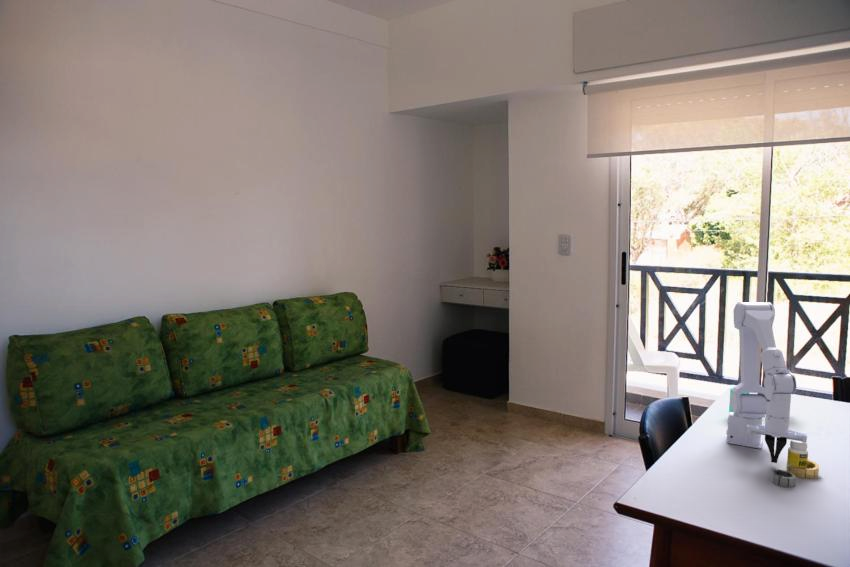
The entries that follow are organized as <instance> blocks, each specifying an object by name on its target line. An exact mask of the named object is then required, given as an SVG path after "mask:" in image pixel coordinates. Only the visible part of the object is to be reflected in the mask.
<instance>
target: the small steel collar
mask: <svg viewBox="0 0 850 567" xmlns="http://www.w3.org/2000/svg"><path fill="white" fill-rule="evenodd" d="M771 481H772V483H773V484H774V485H777V486H779V487H783V488H787V489H788V488H789V487H790V488H794V487H796V477H795V474H793V473H791V472H788V471H787V470H784V469H773V470H772V480H771Z"/></svg>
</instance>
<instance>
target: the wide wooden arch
mask: <svg viewBox="0 0 850 567" xmlns="http://www.w3.org/2000/svg"><path fill="white" fill-rule="evenodd" d="M819 469H820V468H819V464H817V463H816V462H815V461H814V460H810V459H807V469H805V468H800V467H794V466H789V465H788V469H787V468H786V471H788V472H791V473H793V474H795V478H800V479H806V480H807V479H817V478H819V471H820V470H819Z"/></svg>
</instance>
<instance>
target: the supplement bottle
mask: <svg viewBox="0 0 850 567" xmlns="http://www.w3.org/2000/svg"><path fill="white" fill-rule="evenodd" d="M808 457H809V451H808V442H806V443H803V442H802V441H796V440H790V443H789V447H788V449H787V460H786V470H787V469H788V465H789V466H794V467H800V468H805V469H807V460H809V458H808Z"/></svg>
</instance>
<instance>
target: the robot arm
mask: <svg viewBox="0 0 850 567" xmlns="http://www.w3.org/2000/svg"><path fill="white" fill-rule="evenodd" d="M775 316H776V310H775V306H774V304H773V303H772V302H770V301H767V302H747V301H746V302H745V301H744V302H743V301H738V302H737V303H736V304H735V305H734V308H733V326H734V329H737V330H738V334H739V360H740V361H739V363H740V382H739V383H737V385H735V386H733V387H734V388H733V389H732V391H731V398H730V397H729V405H730V406H731V409H732V411H733V412H729V411H728V419H727V429H726V443H727V444H731V445H732V444H733V445H738V446H743V447H749V448H756V449H762V446H763V445H762V444H763V438H762V436H764V441H765V444H766V445H767V448H768V451H769V455H770V462H771V463H774V464H777V463H778V460H779V457H780V454H781V452H782V451H783V449H784V448H785V447H786V445H787V441H788V440H790V441H791V440H796V441H802V442H803V443H808V442H807V440H808V434H807V433H803V432H798V431H794V430H792V429H789V427H790V413H791V412H790V411H791V402H792V401H791V399H792V395H794V394H795V393H796V391H797V381H796V376H795V374H793V373H792V371H791V370H790V369H788V367H787V364H786V361H785V357H784V354H783V351H782V350H780V349H778V348H777V346H776V345H777V344H776V341H775V336H774V331H773V327H772V325H773V323H774V321H775ZM758 344H759V346H760V348H761V350H762V351H761V353H760V355H759V354H758V353H759V347H758ZM759 358H760V361H761V365H762V368H763V371H764V375H765V377H764V379H763V386H762V385H760V376H759ZM742 393H749V394H742ZM763 418H765V422H764V425H763Z"/></svg>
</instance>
